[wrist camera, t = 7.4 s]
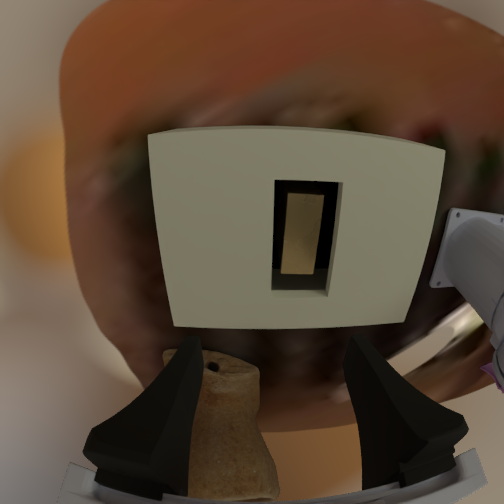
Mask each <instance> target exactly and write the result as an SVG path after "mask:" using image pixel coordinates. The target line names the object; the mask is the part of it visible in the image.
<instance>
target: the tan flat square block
mask: <svg viewBox="0 0 504 504" xmlns="http://www.w3.org/2000/svg"><path fill="white" fill-rule="evenodd" d="M323 201H324V195H323V194H322V192H321V191H320V190H319V189H318V187H317V186H316V185H315V184H314V183H313V181H306V180H280V186H279V200H278V215H277V228H276V245H277V251H278V258H279V265H280V271H281V274H313V271H314V265H315V258H316V252H317V245H318V238H319V231H320V224H321V217H322V209H323Z"/></svg>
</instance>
